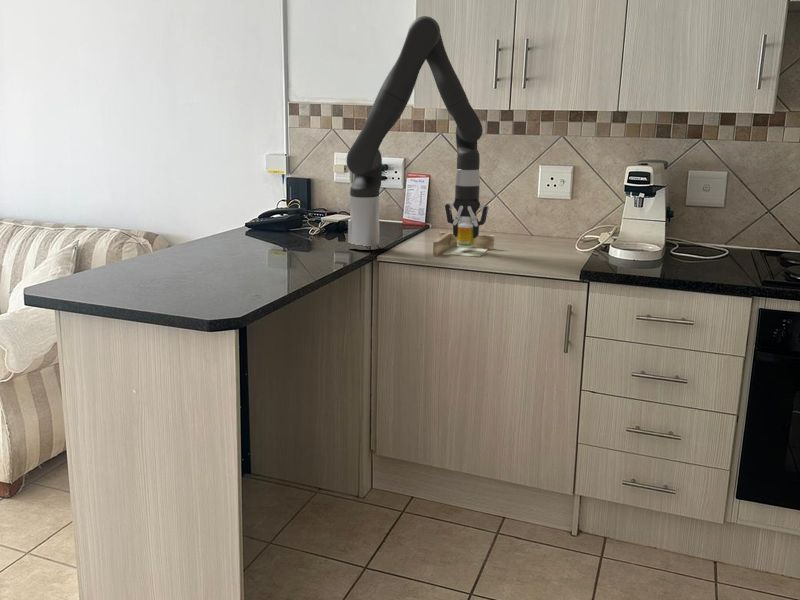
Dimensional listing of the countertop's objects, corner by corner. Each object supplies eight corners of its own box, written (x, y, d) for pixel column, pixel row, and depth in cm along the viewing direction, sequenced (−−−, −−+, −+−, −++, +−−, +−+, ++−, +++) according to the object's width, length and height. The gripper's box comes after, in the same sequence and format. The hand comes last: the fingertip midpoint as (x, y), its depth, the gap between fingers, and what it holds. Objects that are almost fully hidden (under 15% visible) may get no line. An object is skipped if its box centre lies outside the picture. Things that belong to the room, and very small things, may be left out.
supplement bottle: (472, 248, 250) (473, 217, 247) (455, 247, 251) (456, 216, 248) (474, 245, 255) (475, 215, 252) (458, 244, 256) (459, 214, 253)
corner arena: (426, 255, 248) (426, 241, 247) (440, 245, 264) (440, 231, 263) (482, 259, 243) (483, 245, 242) (493, 248, 259) (494, 235, 257)
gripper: (442, 184, 246) (440, 237, 250) (487, 186, 242) (485, 240, 246) (448, 181, 253) (446, 233, 257) (492, 183, 249) (490, 236, 253)
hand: (465, 236), depth 252 cm, fingers closed on supplement bottle, 5 cm apart
